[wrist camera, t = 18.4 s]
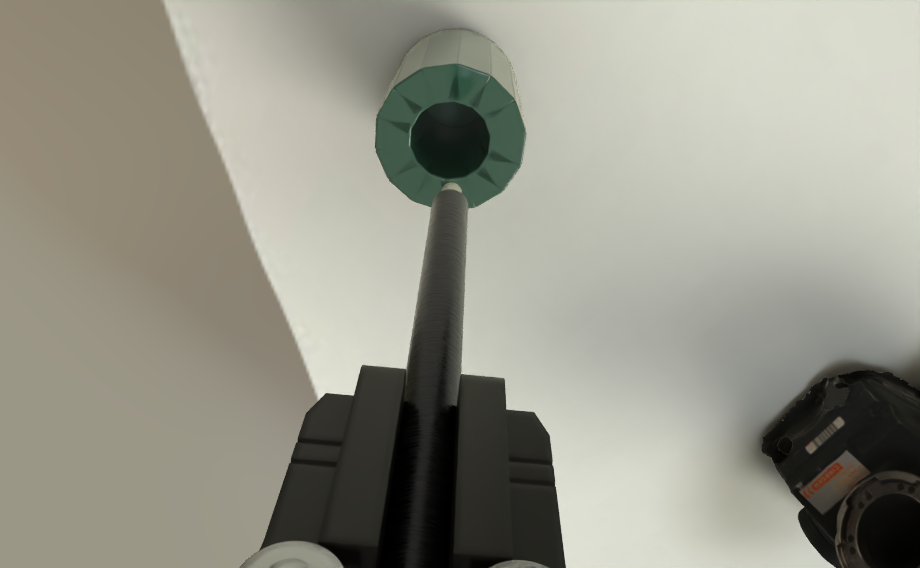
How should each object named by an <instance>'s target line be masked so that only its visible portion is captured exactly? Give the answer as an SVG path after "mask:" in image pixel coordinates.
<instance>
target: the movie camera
mask: <svg viewBox="0 0 920 568" xmlns="http://www.w3.org/2000/svg"><path fill="white" fill-rule="evenodd" d="M830 382H831V383H833V384H834V385H835V386H836V388H838V389H839V388H843V387H848V388H849V391H850V392H849V396H848V397H847V399H846V400H845V402H843V403H842V404H841V405H839V406H835V408H834V409H833V410H831V411H828V410H827V411H826V410H825V409H824V406H823V401H824V398H825V395H826V387H827V385H828V384H829V383H830ZM908 384H909V383H907V382H906V381H904V380H900V378H898V377H896V376H894V375H893V374H892V373H889V372H884V373H878V372H875V371H870V370H866V371H856V372H852V373H850V374H848V373H847V374H845V375H839V376H837V377H832V378H829V379H828V378H824V379H823V380H822V381H821V382H819V383H817V384H815V385H814V386H813V387H811V389H810V391H811V392H810V393H809V394H806V397H805V398H804V399H803V400H800V401H797V403H796V405H795V406H794V407H793V408H792V409H791V410H790V411H789V413H788V414H786V416H785V417H784V418H783V421H780V423H779V424H778V425H777V426H776V427H775V428H774V429H772V431H770V432H769V433H768V434H767V435H766V436H765V437H763V444H762V452H763V453H764V454H766V455H767V456H770V457H771V458H772V461H773V463H774V464H775V467H776V469H777V470H778V472H779V473H780V475H781V476H782V478H783V479H784V480H785V481H786V483H787V485H788V486H789V488H790V490H791V493H792V494H793V495H794V496H795V497H796V498H797V499H798V500H799V502H800V503H801V504H802V505H803V506H804V508H803V509H802V510H801V511H800V512H799V513H798V520H799V523H800V526H801V528H802V530H803V532H804V533H805V535H806V537H807V538H808V540H809V541H810V543H811V544H812V545H813V546H814V547H815V549H816V550H817V551H818V552H819V553H820V555H821V556H822V557H823V558H824V559H825V560H827V561H828V562H829V563H831V564H832V565H833V566H834V567H836V568H920V391H919V390H916V389H915V388H913V387H911V386H910V385H908ZM784 437H788V438H789V439H790V440H791V441H792V442H793V447H792V448H791V451H790V453H788V455H787V454H785V453H783V452H781V451H780V450H778V449H779V448H778V447H777V444H778V442H779V441H780V439H781V438H784Z"/></svg>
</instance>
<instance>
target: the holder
mask: <svg viewBox="0 0 920 568" xmlns="http://www.w3.org/2000/svg"><path fill="white" fill-rule="evenodd" d="M525 140H526V128H525V122H524V117H523V112H522V106H521V101H520V95H519V90H518V85H517V82H516V79H515V75H514V72H513V69H512V66H511V64H510V62H509V60H508V58H507V57H506V55H505V54H504V53H503V51H502V50H501V49H500V48H499V47H498V46H497V45H496V44H495V43H494V42H492V41H491V40H489V39H488V38H486V37H485V36H483V35H481V34H478V33H476V32H473V31H469V30H463V29H448V30H442V31H438V32H435V33H433V34H430V35H428V36H426V37H425V38H423V39H421V40H420V41H419V42H418V43H416V44H415V45H414V46H413V47H412V48H411V49H410V50H409V51H408V52H407V54H406V56H405V57H404V59H403V61H402V63H401V65H400V67H399V68H398V70H397V72H396V74H395V76H394V78H393V81H392V83H391V85H390V87H389V89H388V92H387V94H386V96H385V98H384V100H383V103H382V105H381V107H380V109H379V112H378V114H377V118H376V134H375V148H376V153H377V155H378V158H379V160H380V162H381V165H382V167H383V169H384V171H385V174H386V176H387V178H388V179H389V181H390V182H391V183H392V184H393V185H395V186H396V187H397V188H398V189H399V190H400V191H401V192H403V193H404V194H405V195H406V196H407V197H408V198H409V199H410V200H412V201H414V202H417V203H420V204H423V205H426V206H429V207H432V202H433V199H434V197H435V196H436V195H437V194H438V193H439V192H441V189H442V187H443V186H444V185H445V184H447V183H456V184H457V185H459V186H460V188H461V190H462V194H463V195H464V196H465V198H466V199H467V202H468V208H474V207H477V206H479V205H481V204H482V203H484V202H486V201H488V200H489V199H491V198H493V197H494V196H496V195H498V194H500V193H501V192H502V191H503V190H505V188H506V187H507V185H508V184H509V182H510V181H511V180H512V178H513V177H514V175H515V174H516V172H517V171H518V169H519V168H520V166H521V164H522V160H523V153H524V146H525Z"/></svg>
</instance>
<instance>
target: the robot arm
mask: <svg viewBox="0 0 920 568" xmlns="http://www.w3.org/2000/svg"><path fill="white" fill-rule="evenodd" d="M405 384H406V369H399V368H388V367H377V366H366V365H362V367H361V370H360V374H359V378H358V382H357V386H356V390H355V394H354V396H351V395H340V394H329V393H326V394H325V395H324V396H323V397H322V398H321V399H320V400H319V401H318V402H317V403H316V404H315V405H314V406H313V407H312V408H311V409H310V410H309V411H308V412H307V413H306V415H305V418H304V421H303V424H302V427H301V430H300V433H299V436H298V442H297V443H296V445H295V448H294V451H293V454H292V457H291V463H290V464H289V466H288V469H287V472H286V476H285V478H284V481H283V484H282V488H281V490H280V493H279V496H278V500H277V503H276V505H275V508H274V511H273V514H272V518H271V520H270V523H269V526H268V529H267V532H266V536H265V538H264V541H263V544H262V546H261V548H260V550H259V551H258V552H256V553H255V554H253V555H252V556H251V557H250V558H248V559H247V560H246V561H245V562H244V563H243V564H242V565H241V566H240V568H380V561H381V554H382V548H383V541H384V534H385V528H386V521H387V514H388V508H389V501H390V494H391V487H392V481H393V474H394V467H395V461H396V454H397V447H398V440H399V434H400V427H401V420H402V414H403V407H404V398H405ZM552 461H553V460H552V452H551V443H550V435H549V434H548V432H547V431H546V429H545V428H544V426H543V425H542V423H541V422H540V420H539V419H538V417H537V416H536V414H535V413H534V412H526V411H515V410H506V394H505V380H504V378H496V377H486V376H475V375H464V374H461V375H460V381H459V389H458V398H457V407H456V427H455V447H454V467H453V488H452V508H451V528H450V548H449V568H566V566H565V558H564V550H563V542H562V534H561V525H560V517H559V509H558V501H557V493H556V487H555V476H554V468H553V466H552Z"/></svg>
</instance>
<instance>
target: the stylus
mask: <svg viewBox="0 0 920 568" xmlns="http://www.w3.org/2000/svg"><path fill="white" fill-rule="evenodd" d="M467 221H468V202H467V199H466V198H465V196H464V195H463V194H462V190H461V188H460V186H459V185H457V184H456V183H447V184H445V185H444V186H443V187H442V189H441V192H439V193H438V194H437V195H436V196H435V197H434V199H433V202H432V208H431V215H430V221H429V227H428V234H427V240H426V247H425V253H424V260H423V266H422V272H421V279H420V285H419V292H418V298H417V305H416V311H415V317H414V324H413V330H412V337H411V343H410V349H409V356H408V362H407V369H406V384H405V398H404V407H403V414H402V420H401V427H400V434H399V440H398V447H397V454H396V461H395V467H394V474H393V481H392V487H391V494H390V501H389V508H388V514H387V521H386V528H385V534H384V541H383V548H382V554H381V561H380V568H449V548H450V528H451V508H452V488H453V467H454V447H455V427H456V407H457V398H458V389H459V381H460V375H461V363H462V339H463V315H464V292H465V268H466V245H467Z"/></svg>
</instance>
